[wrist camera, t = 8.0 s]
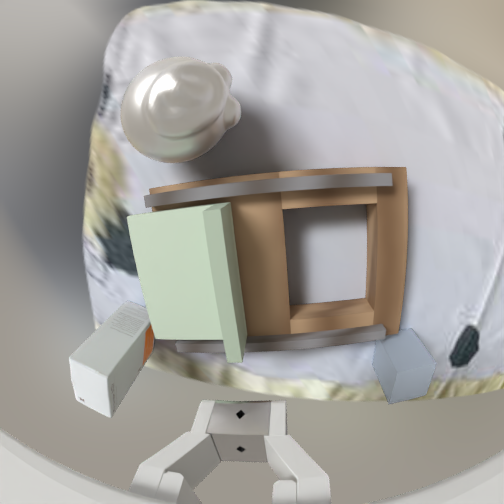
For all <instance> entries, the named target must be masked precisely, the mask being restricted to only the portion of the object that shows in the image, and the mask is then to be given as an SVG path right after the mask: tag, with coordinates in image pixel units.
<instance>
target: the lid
mask: <svg viewBox="0 0 504 504" xmlns="http://www.w3.org/2000/svg"><path fill="white" fill-rule="evenodd" d="M127 221H128V226H129V232H130V237H131V243H132V248H133V253H134V257H135V262H136V267H137V271H138V275H139V280H140V284H141V288H142V292H143V296H144V300H145V304H146V307H147V311H148V315H149V318H150V322H151V325H152V329H153V332H154V335H155V339H172V340H223V342H224V347H225V352H226V358H227V363H242V362H243V356H244V351H245V345H246V339H247V327H246V320H245V312H244V305H243V297H242V290H241V282H240V274H239V266H238V258H237V250H236V242H235V234H234V226H233V217H232V209H231V202H226V203H217V204H209V205H200V206H192V207H185V208H177V209H170V210H163V211H156V212H149V213H142V214H136V215H130V216H128V217H127Z"/></svg>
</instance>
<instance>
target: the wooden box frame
mask: <svg viewBox="0 0 504 504" xmlns="http://www.w3.org/2000/svg"><path fill="white" fill-rule="evenodd" d="M149 191H150V195H146V196H144V200H145V206H146V208H147V207H152V212H156V211H163V210H170V209H177V208H185V207H192V206H200V205H209V204H217V203H226V202H231V209H232V217H233V226H234V234H235V242H236V250H237V258H238V266H239V274H240V282H241V290H242V297H243V305H244V312H245V320H246V327H247V339H246V345H245V351H244V352H262V351H281V350H295V349H307V348H318V347H328V346H337V345H345V344H353V343H360V342H367V341H374V340H380V339H385V336H386V335H392V334H398V332H399V325H400V319H401V311H402V304H403V295H404V286H405V274H406V260H407V239H408V192H407V171H406V167H357V168H329V169H311V170H296V171H282V172H271V173H260V174H250V175H241V176H232V177H224V178H216V179H209V180H201V181H194V182H188V183H181V184H175V185H169V186H163V187H157V188H151V189H149ZM351 204H366V207H367V277H366V298H361V299H352V300H343V301H333V302H323V303H312V304H300V305H289V291H288V275H287V261H286V248H285V235H284V223H283V211H282V209H291V208H304V207H318V206H334V205H351ZM175 345H176V349H177V352H195V353H226V352H225V347H224V342H223V340H177V341H176V343H175Z"/></svg>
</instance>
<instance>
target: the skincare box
mask: <svg viewBox="0 0 504 504" xmlns="http://www.w3.org/2000/svg"><path fill="white" fill-rule="evenodd" d="M154 338H155V335H154V332H153V329H152V325H151V322H150V318H149V315H148V311H147V308H146V307H143V306H140V305H138V304H135V303H133V302H130V301H126V302H125V303H124V304H123V305H122V306H120V307H119V308H118V309H117V310H116V311H115V312H114V313H113V314H112V315H111V316H110V317H109V318H108V319H107V320H106V321H105V322H104V323H103V324H102V325H101V326H100V327H99V328H98V329H97V330H96V331H95V332H94V333H93V334H92V335H91V336H90V337H89V338H88V339H87V340H86V341H85V342H84V343H83V344H82V345H81V346H80V347H79V348H78V349H77V350H76V351H75V352H74V353H73V354H72V355H71V356H70V357H69V363H70V369H71V381H72V384H73V387H74V392H75V397H76V400H77V401H79V402H80V403H82V404H84V405H86V406H88V407H90V408H91V409H93V410H95V411H97V412H99V413H101V414H103V415H106V416H107V417H110V418H112V416H113V415H114V413H115V412H116V410H117V408H118V407H119V405H120V403H121V402H122V400H123V398H124V397H125V395H126V394H127V392H128V390H129V389H130V387H131V386H132V384H133V382H134V381H135V379H136V377H137V376H138V374H139V373H140V371H141V370H142V368H143V366H144V365H145V363H146V362H147V360H148V359H149V357H150V355H151V354H152V352H153V347H154Z"/></svg>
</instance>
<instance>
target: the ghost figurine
mask: <svg viewBox="0 0 504 504" xmlns="http://www.w3.org/2000/svg"><path fill="white" fill-rule="evenodd" d="M231 83H232V76H231V74H230V72H229V71H228V69H227V68H226V67H225V66H224V65H222V64H220V63H205V62H203V61H201V60H198V59H194V58H190V57H171V58H166V59H162V60H159V61H157V62H155V63H153V64H151V65H149V66H147V67H146V68H144V69H143V70H142V71H141V72H140V73H138V74H137V75H136V76H135V78H134V79H133V80H132V81H131V83H130V84H129V86H128V88H127V89H126V91H125V94H124V96H123V100H122V104H121V123H122V127H123V130H124V133H125V135H126V137H127V139H128V140H129V142H130V143H131V144H132V146H133V147H134V148H135V149H136V150H137V151H139V152H140V153H141V154H143V155H144V156H146V157H148V158H150V159H153V160H156V161H159V162H165V163H180V162H186V161H189V160H193V159H195V158H197V157H200V156H201V155H203V154H205V153H206V152H208V151H209V150H210V149H212V148H213V147H214V146H215V145H216V144H217V143H218V142H219V140H220V139H221V138H222V136H223V135H224V133H225V132H226V131H227V130H228V129H230V128H232V127H234V126H235V125H236V124H237V123H238V122H239V120H240V118H241V106H240V103H239V102H238V100H237V99H235V98H234V97H233V96H231V94H230V86H231Z"/></svg>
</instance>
